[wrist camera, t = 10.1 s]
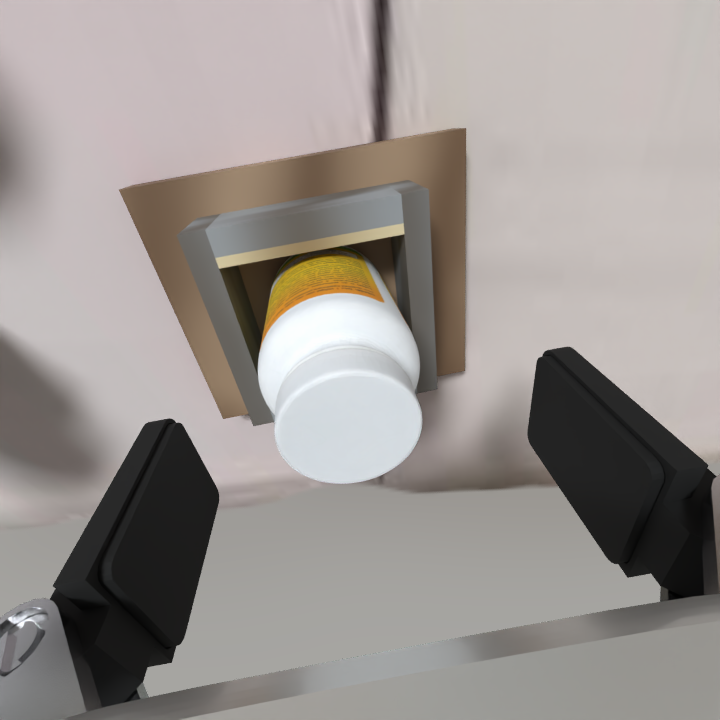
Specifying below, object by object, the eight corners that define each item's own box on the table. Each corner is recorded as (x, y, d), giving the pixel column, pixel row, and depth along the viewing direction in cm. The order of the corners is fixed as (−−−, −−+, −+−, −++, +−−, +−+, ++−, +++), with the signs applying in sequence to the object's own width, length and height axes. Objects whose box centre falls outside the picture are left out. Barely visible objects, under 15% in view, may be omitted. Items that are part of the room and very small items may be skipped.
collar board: (453, 128, 16) (499, 128, 13) (455, 357, 23) (486, 403, 19) (133, 184, 16) (80, 202, 12) (227, 402, 22) (212, 458, 19)
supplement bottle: (247, 301, 18) (200, 448, 9) (324, 214, 16) (347, 299, 8) (331, 364, 20) (352, 524, 12) (405, 293, 19) (487, 422, 10)
